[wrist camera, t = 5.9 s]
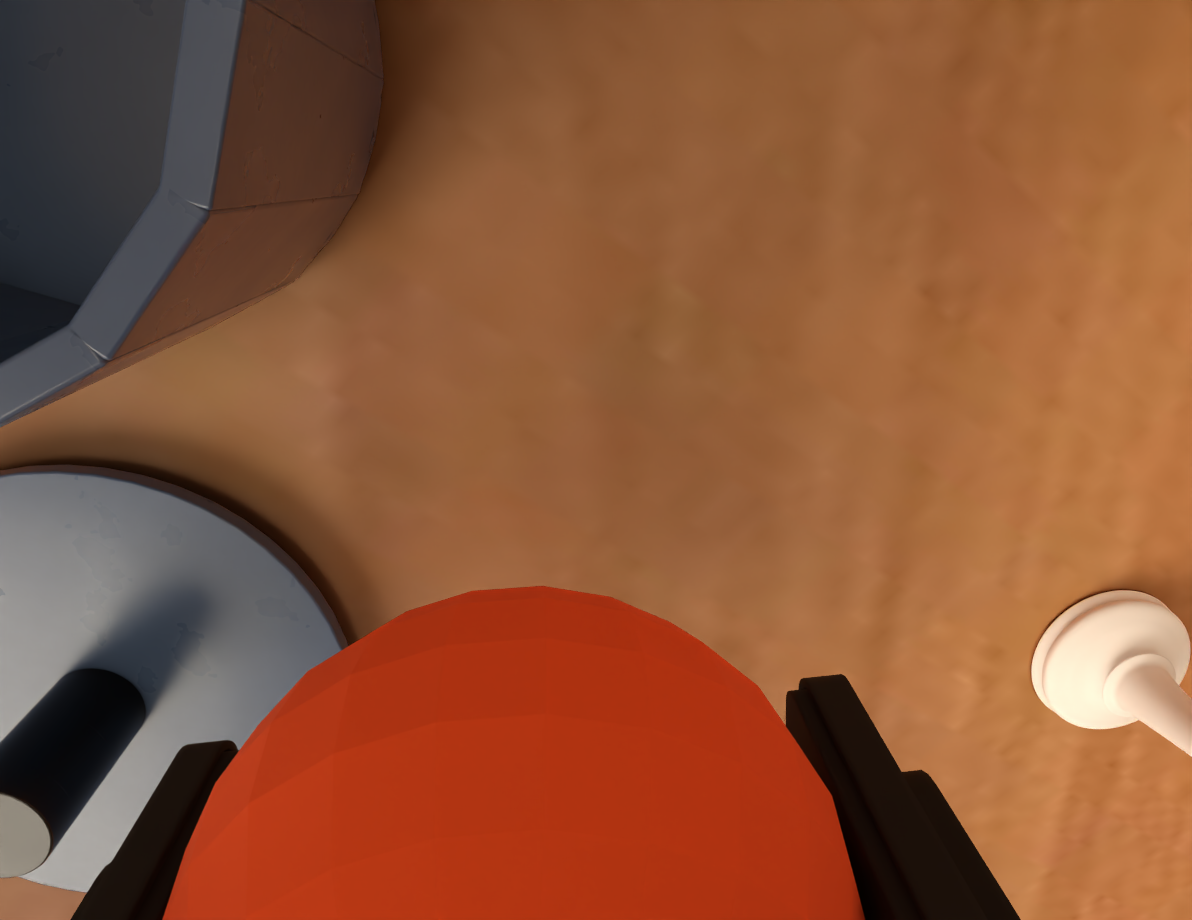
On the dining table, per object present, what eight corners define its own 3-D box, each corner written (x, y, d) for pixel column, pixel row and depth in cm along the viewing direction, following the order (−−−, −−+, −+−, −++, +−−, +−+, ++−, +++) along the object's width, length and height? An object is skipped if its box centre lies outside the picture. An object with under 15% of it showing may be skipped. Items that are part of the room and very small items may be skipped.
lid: (312, 431, 22) (234, 520, 16) (398, 838, 27) (361, 1014, 21) (-231, 483, 21) (-505, 594, 16) (-42, 889, 26) (-199, 1084, 21)
